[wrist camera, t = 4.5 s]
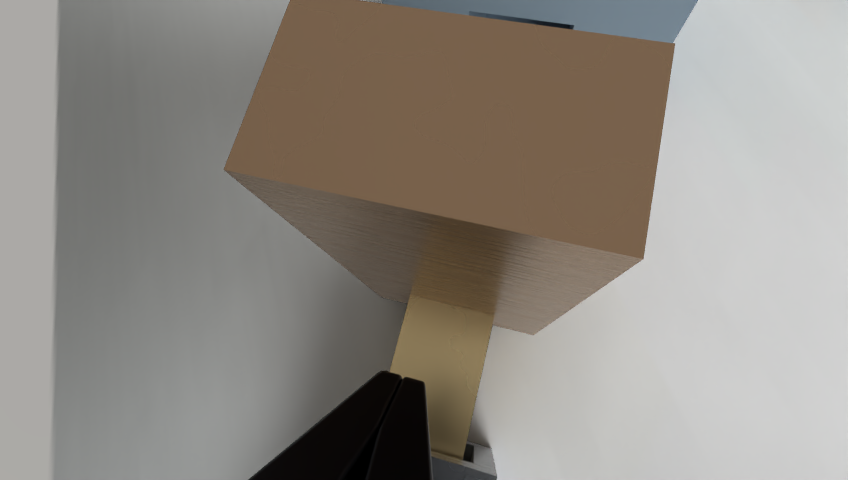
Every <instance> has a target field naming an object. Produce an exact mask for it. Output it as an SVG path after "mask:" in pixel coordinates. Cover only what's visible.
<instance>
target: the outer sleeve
mask: <svg viewBox="0 0 848 480" xmlns="http://www.w3.org/2000/svg"><path fill="white" fill-rule="evenodd" d="M431 461H432V474H433V480H496V479H497V474H496V469H495V463H494V458H493V453H492V448H488V447H485V446H482V445H478V444H475V443H471V442H468V441H467V442H466V447H465V451H464V456H463V460H461V459H458V458H454V457H451V456H448V455H444V454H441V453H438V452H434V451H431Z"/></svg>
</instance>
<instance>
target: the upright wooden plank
mask: <svg viewBox="0 0 848 480" xmlns="http://www.w3.org/2000/svg"><path fill="white" fill-rule="evenodd" d="M674 47H675V43H667V42H660V41H653V40H645V39H638V38H631V37H623V36H616V35H609V34H601V33H594V32H587V31H579V30H572V29H565V28H557V27H550V26H543V25H535V24H528V23H521V22H513V21H506V20H499V19H491V18H484V17H477V16H470V15H462V14H455V13H448V12H440V11H433V10H426V9H418V8H411V7H404V6H396V5H389V4H382V3H374V2H367V1H360V0H290V2H289V4H288V7H287V10H286V12H285V15H284V17H283V20H282V22H281V25H280V27H279V30H278V32H277V35H276V38H275V40H274V43H273V45H272V48H271V50H270V53H269V55H268V58H267V60H266V63H265V66H264V68H263V71H262V73H261V76H260V78H259V81H258V83H257V86H256V89H255V91H254V94H253V96H252V99H251V101H250V104H249V106H248V109H247V111H246V114H245V117H244V119H243V122H242V124H241V127H240V129H239V132H238V134H237V137H236V139H235V142H234V145H233V147H232V150H231V152H230V155H229V157H228V160H227V162H226V165H225V167H224V170H225V171H226V172H227V173H228V174H230V175H231V176H232V177H233V178H234V179H236V180H237V181H238V182H239V183H241V184H242V185H243V186H244V187H246V188H247V189H248V190H249V191H251V192H252V193H253V194H254V195H256V196H257V197H258V198H259V199H260V200H262V201H263V202H264V203H265V204H267V205H268V206H269V207H270V208H272V209H273V210H274V211H275V212H277V213H278V214H279V215H280V216H282V217H283V218H284V219H285V220H286V221H288V222H289V223H290V224H291V225H293V226H294V227H295V228H296V229H298V230H299V231H300V232H301V233H303V234H304V235H305V236H306V237H308V238H309V239H310V240H311V241H312V242H314V243H315V244H316V245H317V246H319V247H320V248H321V249H322V250H324V251H325V252H326V253H327V254H329V255H330V256H331V257H332V258H334V259H335V260H336V261H337V262H338V263H340V264H341V265H342V266H343V267H345V268H346V269H347V270H348V271H350V272H351V273H352V274H353V275H355V276H356V277H357V278H358V279H360V280H361V281H362V282H363V283H364V284H366V285H367V286H368V287H369V288H371V289H372V290H373V291H374V292H376V293H377V294H378V295H379V296H381V297H382V298H386V299H390V300H394V301H399V302H403V303H407V304H408V305H407V308H406V312H405V316H404V320H403V323H402V327H401V331H400V334H399V338H398V342H397V346H396V349H395V353H394V357H393V361H392V364H391V368H390V372H392V373H395V374H399V375H401V376H402V378H404V377H410V378H413V379H417V380H421V381H423V382H424V383H425V386H426V398H427V410H428V423H429V436H430V448H431V451H434V452H438V453H441V454H444V455H448V456H451V457H454V458H458V459H461V460H463V456H464V451H465V447H466V442H467V438H468V433H469V429H470V424H471V420H472V415H473V410H474V406H475V401H476V397H477V392H478V388H479V383H480V379H481V374H482V370H483V365H484V361H485V356H486V352H487V347H488V343H489V338H490V334H491V329H492V325H495V326H499V327H503V328H507V329H511V330H515V331H519V332H523V333H527V334H531V335H534V334H536V333H537V332H539V331H540V330H542V329H543V328H544V327H546V326H547V325H549V324H550V323H552V322H553V321H555V320H556V319H557V318H559V317H560V316H562V315H563V314H565V313H566V312H568V311H569V310H570V309H572V308H573V307H575V306H576V305H578V304H579V303H581V302H582V301H583V300H585V299H586V298H588V297H589V296H591V295H592V294H594V293H595V292H596V291H598V290H599V289H601V288H602V287H604V286H605V285H607V284H608V283H609V282H611V281H612V280H614V279H615V278H617V277H618V276H620V275H621V274H622V273H624V272H625V271H627V270H628V269H630V268H631V267H633V266H634V265H635V264H637V263H638V262H640V261H641V260H643V258H644V251H645V244H646V237H647V231H648V224H649V217H650V210H651V203H652V197H653V190H654V183H655V176H656V169H657V163H658V156H659V149H660V142H661V136H662V129H663V122H664V115H665V108H666V102H667V95H668V88H669V81H670V75H671V68H672V61H673V54H674Z"/></svg>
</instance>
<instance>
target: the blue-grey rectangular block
mask: <svg viewBox="0 0 848 480" xmlns="http://www.w3.org/2000/svg"><path fill="white" fill-rule="evenodd" d="M697 1H698V0H382V3H383V4H389V5H396V6H404V7H411V8H418V9H426V10H433V11H440V12H448V13H455V14H462V15H470V16H477V17H484V18H491V19H499V20H506V21H513V22H521V23H528V24H535V25H543V26H550V27H557V28H565V29H572V30H579V31H587V32H594V33H601V34H609V35H616V36H623V37H631V38H638V39H645V40H653V41H660V42H667V43H673V42H674V40H675V38H676V37H677V35H678V33H679V32H680V30H681V28H682V27H683V25H684V23H685V21H686V20H687V18H688V16H689V15H690V13H691V11H692V10H693V8H694V6H695V5H696V3H697Z"/></svg>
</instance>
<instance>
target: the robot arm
mask: <svg viewBox="0 0 848 480" xmlns="http://www.w3.org/2000/svg"><path fill="white" fill-rule="evenodd" d="M249 480H433V474H432V461H431V448H430V436H429V423H428V410H427V398H426V386H425V383H424V382H423V381H421V380H417V379H413V378H410V377H404V378H402V376H401V375H399V374H395V373H392V372H388V371H380V372H378V373H377V374H376V375H375V376H373V377H372V378H371V379H370V380H369V381H367V382H366V383H365V384H364V385H363V386H361V387H360V388H359V389H358V390H357V391H355V392H354V393H353V394H352V395H350V396H349V397H348V398H347V399H346V400H344V401H343V402H342V403H341V404H340V405H338V406H337V407H336V408H335V409H333V410H332V411H331V412H330V413H329V414H327V415H326V416H325V417H324V418H323V419H321V420H320V421H319V422H318V423H316V424H315V425H314V426H313V427H312V428H310V429H309V430H308V431H307V432H306V433H304V434H303V435H302V436H301V437H300V438H298V439H297V440H296V441H295V442H293V443H292V444H291V445H290V446H289V447H287V448H286V449H285V450H284V451H283V452H281V453H280V454H279V455H278V456H276V457H275V458H274V459H273V460H272V461H270V462H269V463H268V464H267V465H266V466H264V467H263V468H262V469H261V470H259V471H258V472H257V473H256V474H255V475H253V476H252V477H251V478H250V479H249Z"/></svg>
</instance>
